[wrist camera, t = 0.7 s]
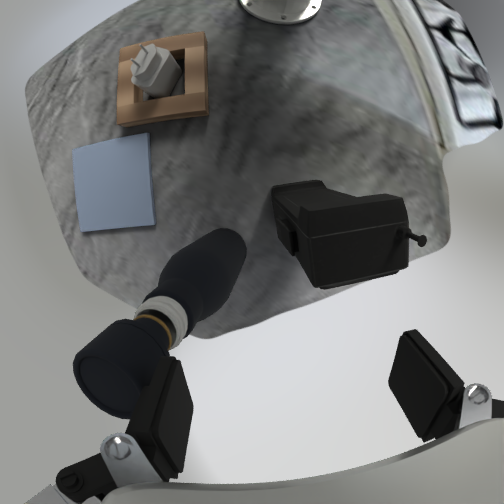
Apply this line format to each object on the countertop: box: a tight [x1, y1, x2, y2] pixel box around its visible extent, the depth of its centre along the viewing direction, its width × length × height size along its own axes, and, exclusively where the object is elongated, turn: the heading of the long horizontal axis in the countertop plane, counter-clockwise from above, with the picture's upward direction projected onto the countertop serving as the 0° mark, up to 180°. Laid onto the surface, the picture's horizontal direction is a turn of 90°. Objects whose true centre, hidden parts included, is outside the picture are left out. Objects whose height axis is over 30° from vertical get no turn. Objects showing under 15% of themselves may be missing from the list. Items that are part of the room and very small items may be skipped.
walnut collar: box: [117, 32, 209, 127], centre depth 30 cm, size 12×12×4 cm
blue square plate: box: [72, 133, 156, 232], centre depth 35 cm, size 13×13×1 cm
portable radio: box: [272, 180, 427, 290], centre depth 25 cm, size 8×6×25 cm
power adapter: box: [130, 44, 182, 99], centre depth 26 cm, size 3×5×12 cm, turn 153°
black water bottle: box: [73, 228, 246, 419], centre depth 24 cm, size 6×6×30 cm
